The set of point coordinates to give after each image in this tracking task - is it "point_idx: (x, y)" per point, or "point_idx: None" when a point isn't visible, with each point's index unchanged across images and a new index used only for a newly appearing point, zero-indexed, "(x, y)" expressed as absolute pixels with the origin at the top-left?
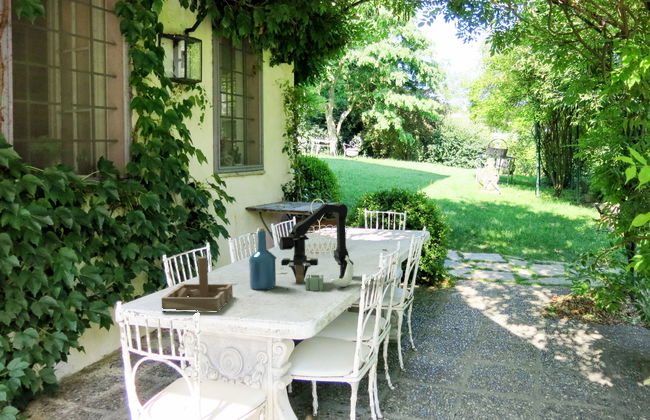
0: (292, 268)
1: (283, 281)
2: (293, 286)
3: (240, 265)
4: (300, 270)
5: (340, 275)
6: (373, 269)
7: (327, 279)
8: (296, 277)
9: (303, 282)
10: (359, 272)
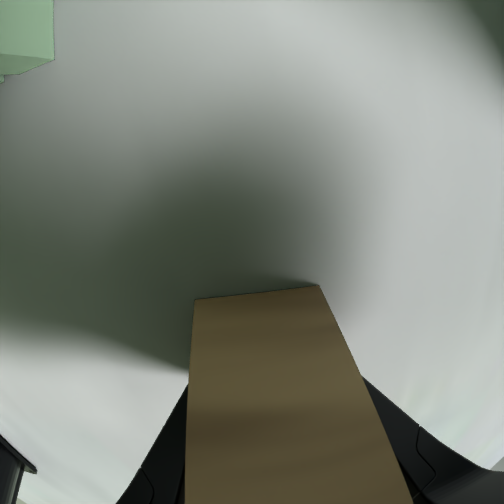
0: (477, 481)
1: (454, 326)
2: (320, 32)
3: (498, 457)
4: (268, 502)
5: (2, 455)
6: (19, 498)
7: (40, 427)
8: (334, 349)
9: (195, 304)
10: (22, 488)
